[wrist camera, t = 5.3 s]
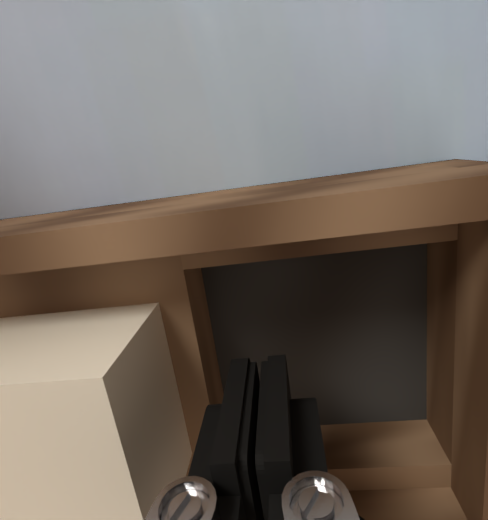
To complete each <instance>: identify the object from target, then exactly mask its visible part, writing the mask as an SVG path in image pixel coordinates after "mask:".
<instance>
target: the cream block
mask: <svg viewBox="0 0 488 520" xmlns="http://www.w3.org/2000/svg"><path fill="white" fill-rule="evenodd" d="M191 455H192V451H191V446H190V442H189V437H188V433H187V428H186V424H185V419H184V415H183V410H182V405H181V401H180V396H179V392H178V387H177V383H176V378H175V374H174V369H173V365H172V360H171V356H170V351H169V347H168V342H167V338H166V333H165V329H164V324H163V320H162V315H161V311H160V306H159V303H149V304H139V305H128V306H118V307H108V308H98V309H88V310H77V311H67V312H57V313H47V314H36V315H26V316H16V317H6V318H0V520H145V518H146V516H147V514H148V512H149V510H150V508H151V506H152V504H153V502H154V500H155V499H156V497H157V496H158V494H159V493H160V491H161V490H163V489H164V488H165V487H166V486H167V485H168V484H170V483H171V482H173V481H175V480H176V479H179V478H182V477H186V474H187V470H188V466H189V463H190V459H191Z"/></svg>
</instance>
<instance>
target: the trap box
mask: <svg viewBox="0 0 488 520" xmlns="http://www.w3.org/2000/svg"><path fill="white" fill-rule="evenodd" d="M149 303H159V306H160V311H161V315H162V320H163V324H164V329H165V333H166V338H167V342H168V347H169V351H170V356H171V360H172V365H173V369H174V374H175V378H176V383H177V387H178V392H179V396H180V401H181V405H182V410H183V415H184V419H185V424H186V428H187V433H188V437H189V442H190V446H191V451H192V455H191V459H190V463H189V466H188V470H187V474H186V476H188V473H189V469H190V466H191V462H192V458H193V455H194V451H195V447H196V443H197V440H198V436H199V432H200V428H201V425H202V421H203V417H204V413H205V410H206V407H207V406H208V405H211V404H222V400H223V396H224V391H225V386H226V381H227V377H228V372H229V367H230V363H231V359H238V358H250V362H257V367H258V373H259V380H260V374H261V362H262V361H268V356H274V355H286V360H287V368H288V376H289V384H290V392H291V399H299V398H313V397H316V401H317V407H318V413H319V420H320V426H321V432H322V439H323V445H324V451H325V457H326V464H327V470H328V473H329V474H331V475H333V476H335V477H337V478H338V479H339V480H340V481H341V482H343V483H344V484H345V486H346V488H347V489H348V491H349V493H350V495H351V498H352V500H353V503H354V505H355V508H356V511H357V513H358V515H359V516H361V517H362V518H363V519H365V520H488V162H486V161H473V160H459V159H453V160H446V161H438V162H431V163H423V164H416V165H408V166H401V167H393V168H386V169H378V170H371V171H363V172H356V173H348V174H341V175H333V176H326V177H318V178H311V179H303V180H296V181H288V182H281V183H273V184H266V185H258V186H250V187H243V188H235V189H228V190H220V191H213V192H205V193H198V194H190V195H183V196H175V197H168V198H160V199H153V200H145V201H138V202H130V203H123V204H115V205H108V206H100V207H93V208H85V209H78V210H70V211H63V212H55V213H48V214H40V215H33V216H25V217H18V218H10V219H3V220H0V318H6V317H16V316H26V315H36V314H47V313H57V312H67V311H77V310H88V309H98V308H108V307H118V306H128V305H139V304H149Z"/></svg>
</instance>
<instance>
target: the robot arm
mask: <svg viewBox="0 0 488 520" xmlns="http://www.w3.org/2000/svg"><path fill="white" fill-rule="evenodd" d="M145 520H365V519H363V518H362V517H361V516H359V515H358V513H357V511H356V508H355V505H354V503H353V500H352V498H351V495H350V493H349V491H348V489H347V488H346V486H345V484H344V483H343V482H341V481H340V480H339V479H338V478H337V477H335V476H333V475H331V474H329V473H328V470H327V464H326V457H325V451H324V445H323V439H322V432H321V426H320V420H319V413H318V407H317V401H316V397H313V398H299V399H291V392H290V384H289V376H288V368H287V360H286V355H274V356H268V361H262V362H261V374H260V380H259V373H258V367H257V362H250V358H238V359H231V363H230V367H229V372H228V377H227V381H226V386H225V391H224V396H223V400H222V404H211V405H208V406H207V407H206V410H205V413H204V417H203V421H202V425H201V428H200V432H199V436H198V440H197V443H196V447H195V451H194V455H193V458H192V462H191V466H190V469H189V473H188V476H186V477H182V478H179V479H176V480H175V481H173V482H171V483H170V484H168V485H167V486H166V487H165V488H164V489H163V490H161V491H160V493H159V494H158V496H157V497H156V499H155V500H154V502H153V504H152V506H151V508H150V510H149V512H148V514H147V516H146V518H145Z"/></svg>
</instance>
